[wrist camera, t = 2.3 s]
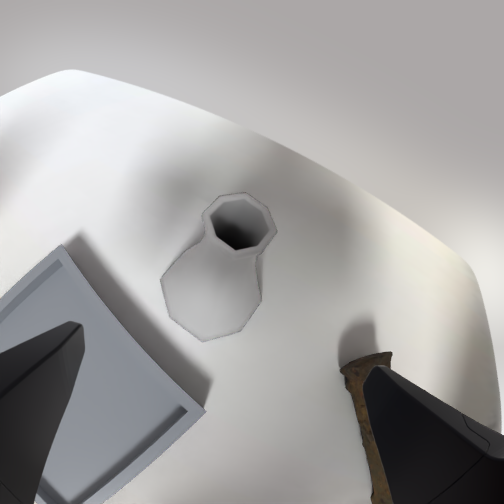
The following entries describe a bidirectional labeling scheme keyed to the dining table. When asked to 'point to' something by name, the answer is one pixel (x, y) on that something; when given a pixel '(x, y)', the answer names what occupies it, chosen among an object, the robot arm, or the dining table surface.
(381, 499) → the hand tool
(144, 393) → the parts tray
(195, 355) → the dining table surface
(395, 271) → the dining table surface
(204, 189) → the dining table surface
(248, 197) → the flask
